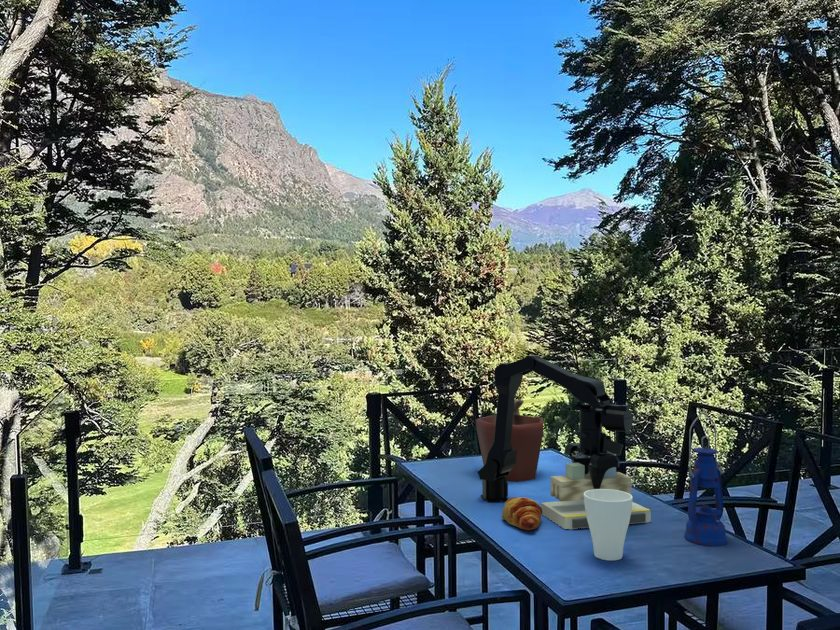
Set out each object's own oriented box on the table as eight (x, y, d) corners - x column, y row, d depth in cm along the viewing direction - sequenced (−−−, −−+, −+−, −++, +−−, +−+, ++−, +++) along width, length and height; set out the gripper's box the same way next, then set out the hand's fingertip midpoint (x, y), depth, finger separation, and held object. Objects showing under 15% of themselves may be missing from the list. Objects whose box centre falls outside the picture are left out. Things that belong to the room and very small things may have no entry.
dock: (566, 530, 167) (566, 518, 167) (541, 513, 181) (541, 502, 181) (652, 523, 173) (652, 510, 173) (621, 507, 187) (621, 495, 187)
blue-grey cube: (604, 477, 176) (604, 464, 176) (597, 474, 180) (597, 461, 180) (616, 476, 177) (616, 463, 177) (609, 473, 181) (609, 460, 180)
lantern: (707, 549, 154) (706, 417, 154) (674, 537, 162) (673, 411, 162) (738, 541, 158) (737, 413, 158) (704, 530, 167) (704, 408, 167)
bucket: (501, 464, 241) (501, 394, 241) (559, 473, 228) (559, 398, 228) (465, 478, 221) (465, 401, 221) (526, 488, 208) (526, 407, 208)
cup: (604, 567, 143) (604, 503, 143) (574, 551, 152) (573, 491, 152) (643, 560, 147) (643, 498, 147) (611, 545, 156) (611, 486, 156)
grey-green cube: (572, 479, 174) (572, 466, 174) (566, 476, 177) (566, 463, 177) (584, 479, 175) (584, 465, 175) (578, 475, 178) (578, 462, 178)
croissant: (502, 523, 185) (488, 497, 185) (534, 504, 186) (520, 479, 186) (522, 548, 164) (506, 519, 163) (557, 527, 165) (542, 498, 164)
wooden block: (560, 501, 172) (561, 481, 172) (550, 495, 178) (550, 476, 178) (631, 496, 177) (631, 477, 177) (619, 490, 183) (619, 472, 183)
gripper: (638, 433, 170) (637, 495, 170) (600, 421, 188) (600, 477, 188) (598, 435, 167) (597, 498, 167) (564, 422, 185) (563, 479, 186)
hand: (590, 487), depth 177 cm, fingers closed on wooden block, 6 cm apart
